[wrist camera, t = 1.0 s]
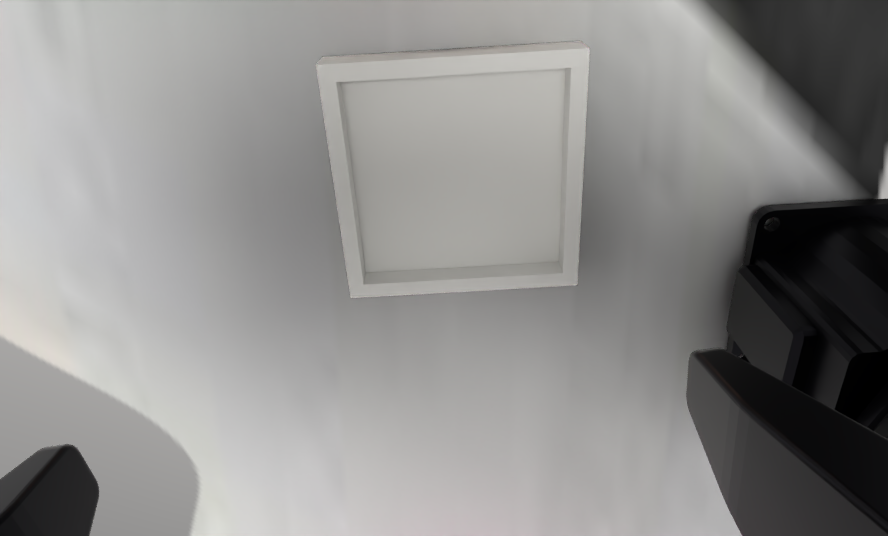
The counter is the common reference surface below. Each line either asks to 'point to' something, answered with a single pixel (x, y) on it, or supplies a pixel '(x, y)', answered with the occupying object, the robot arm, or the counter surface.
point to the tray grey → (458, 166)
